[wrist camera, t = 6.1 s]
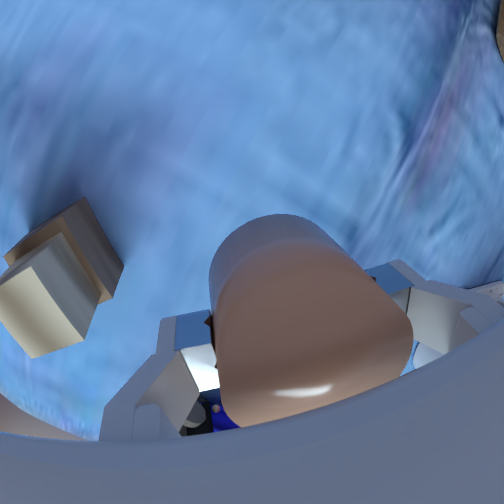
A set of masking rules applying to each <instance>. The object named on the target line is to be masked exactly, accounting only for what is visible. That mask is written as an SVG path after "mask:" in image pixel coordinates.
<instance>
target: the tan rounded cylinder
mask: <svg viewBox="0 0 504 504" xmlns="http://www.w3.org/2000/svg"><path fill="white" fill-rule="evenodd" d="M209 291H210V303H211V313H212V323H213V334H214V343H215V352H216V361H217V370H218V379H219V387H220V395H221V402H222V405H223V408H224V411H225V412H226V414H227V416H228V417H229V418H230V419H231V420H232V421H233V422H234V423H236V424H237V425H238V426H240V427H246V426H251V425H255V424H260V423H264V422H268V421H272V420H276V419H280V418H284V417H288V416H292V415H295V414H299V413H302V412H306V411H309V410H312V409H316V408H319V407H322V406H325V405H328V404H331V403H334V402H337V401H340V400H343V399H346V398H348V397H351V396H354V395H356V394H359V393H362V392H364V391H367V390H369V389H372V388H374V387H377V386H379V385H382V384H384V383H386V382H389V381H391V380H393V379H396V378H398V377H399V376H400V375H401V373H402V371H403V370H404V368H405V366H406V364H407V362H408V360H409V357H410V354H411V351H412V346H413V328H412V325H411V322H410V319H409V318H408V317H407V315H406V314H405V312H404V311H403V310H402V309H401V308H400V307H399V306H398V305H397V304H396V303H395V302H394V301H393V299H392V298H391V297H390V296H389V295H388V294H387V293H386V292H385V291H384V290H383V289H382V288H381V287H380V286H379V285H378V284H377V283H376V282H375V281H374V280H373V279H372V278H371V277H370V276H369V275H368V274H367V273H366V272H365V271H364V270H363V269H362V267H361V266H360V265H359V264H358V263H357V262H356V261H355V260H353V259H352V258H351V257H350V256H349V255H348V254H347V253H346V252H345V251H344V250H343V249H342V248H341V247H340V246H339V245H338V244H337V243H336V242H335V241H334V240H333V239H332V238H331V237H330V236H329V235H328V234H327V233H326V232H325V231H324V230H323V229H321V228H320V227H319V226H318V225H316V224H315V223H313V222H312V221H310V220H307V219H305V218H303V217H299V216H295V215H288V214H274V215H267V216H263V217H260V218H256V219H254V220H252V221H249V222H247V223H245V224H244V225H242V226H240V227H239V228H237V229H236V230H235V231H234V232H232V233H231V234H230V235H229V236H228V237H227V238H226V239H225V240H224V241H223V243H222V244H221V245H220V247H219V248H218V250H217V252H216V253H215V255H214V258H213V260H212V262H211V266H210V270H209Z"/></svg>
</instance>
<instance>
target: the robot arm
mask: <svg viewBox="0 0 504 504" xmlns="http://www.w3.org/2000/svg"><path fill="white" fill-rule="evenodd" d="M364 271H365V272H366V273H367V274H368V275H369V276H370V277H371V278H372V279H373V280H374V281H375V282H376V283H377V284H378V285H379V286H380V287H381V288H382V289H383V290H384V291H385V292H386V293H387V294H388V295H389V296H390V297H391V298H392V299H393V301H394V302H395V303H396V304H397V305H398V306H399V307H400V308H401V309H402V310H403V311H404V312H405V314H406V315H407V317H408V318H409V319H410V322H411V325H412V328H413V339H414V340H416V341H418V342H420V343H419V345H418V347H417V349H416V351H415V354H414V358H413V365H414V367H415V368H416V369H415V370H413V371H411V372H409V373H407V374H404V375H402V376H400V377H398V378H396V379H393V380H391V381H389V382H386V383H384V384H382V385H379V386H377V387H374V388H372V389H369V390H367V391H364V392H362V393H359V394H356V395H354V396H351V397H348V398H346V399H343V400H340V401H337V402H334V403H331V404H328V405H325V406H322V407H319V408H316V409H312V410H309V411H306V412H302V413H299V414H295V415H292V416H288V417H284V418H280V419H276V420H272V421H268V422H264V423H260V424H255V425H251V426H246V427H241V428H236V429H230V430H225V431H219V432H213V433H207V434H200V435H192V436H184V437H182V436H181V435H180V434H179V431H180V429H181V427H182V425H183V424H184V422H185V420H186V418H187V416H188V415H189V413H190V411H191V409H192V407H193V405H194V404H195V402H196V400H197V398H198V396H199V394H200V392H201V391H206V390H210V389H215V388H220V387H219V379H218V370H217V361H216V352H215V343H214V334H213V323H212V315H211V312H210V310H209V309H208V310H202V311H197V312H192V313H187V314H182V315H178V316H171V317H166V318H162V319H161V321H160V327H159V334H158V342H157V350H156V354H154V355H151V356H150V357H149V358H148V359H147V361H146V362H145V363H144V364H143V365H142V366H141V367H140V368H139V369H138V371H137V372H136V373H135V374H134V375H133V376H132V377H131V378H130V379H129V380H128V382H127V383H126V384H125V385H124V386H123V387H122V388H121V389H120V390H119V391H118V393H117V394H116V395H115V396H114V397H113V398H112V399H111V400H110V401H109V403H108V404H107V405H106V406H105V408H104V413H103V418H102V423H101V429H100V435H99V441H75V440H60V439H49V438H39V437H31V436H24V435H17V434H11V433H6V432H1V431H0V504H504V300H503V295H504V283H503V282H502V281H497V282H493V283H490V284H486V285H483V286H479V287H475V288H472V289H468V290H467V289H463V288H460V287H456V286H452V285H448V284H444V283H441V282H437V281H433V280H428V281H426V280H425V279H424V278H423V277H422V276H420V275H419V274H418V273H417V272H416V271H414V270H413V269H412V268H411V267H409V266H408V265H407V264H406V263H405V262H403V261H402V260H399V259H396V260H393V261H391V262H388V263H385V264H383V265H379V266H376V267H373V268H370V269H366V270H364Z"/></svg>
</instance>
